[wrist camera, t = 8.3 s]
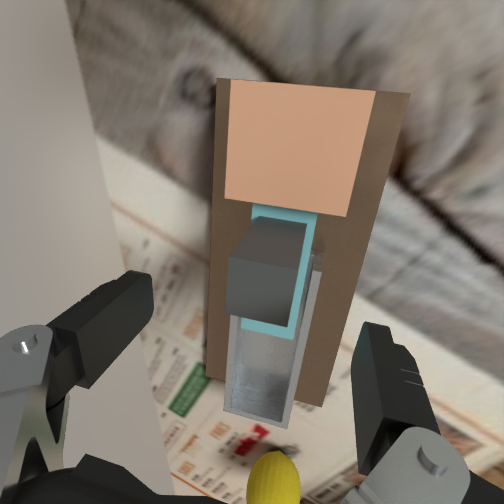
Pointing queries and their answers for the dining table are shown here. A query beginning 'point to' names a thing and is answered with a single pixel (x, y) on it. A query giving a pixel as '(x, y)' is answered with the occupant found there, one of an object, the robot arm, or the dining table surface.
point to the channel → (315, 286)
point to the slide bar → (270, 270)
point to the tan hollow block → (295, 144)
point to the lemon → (273, 480)
